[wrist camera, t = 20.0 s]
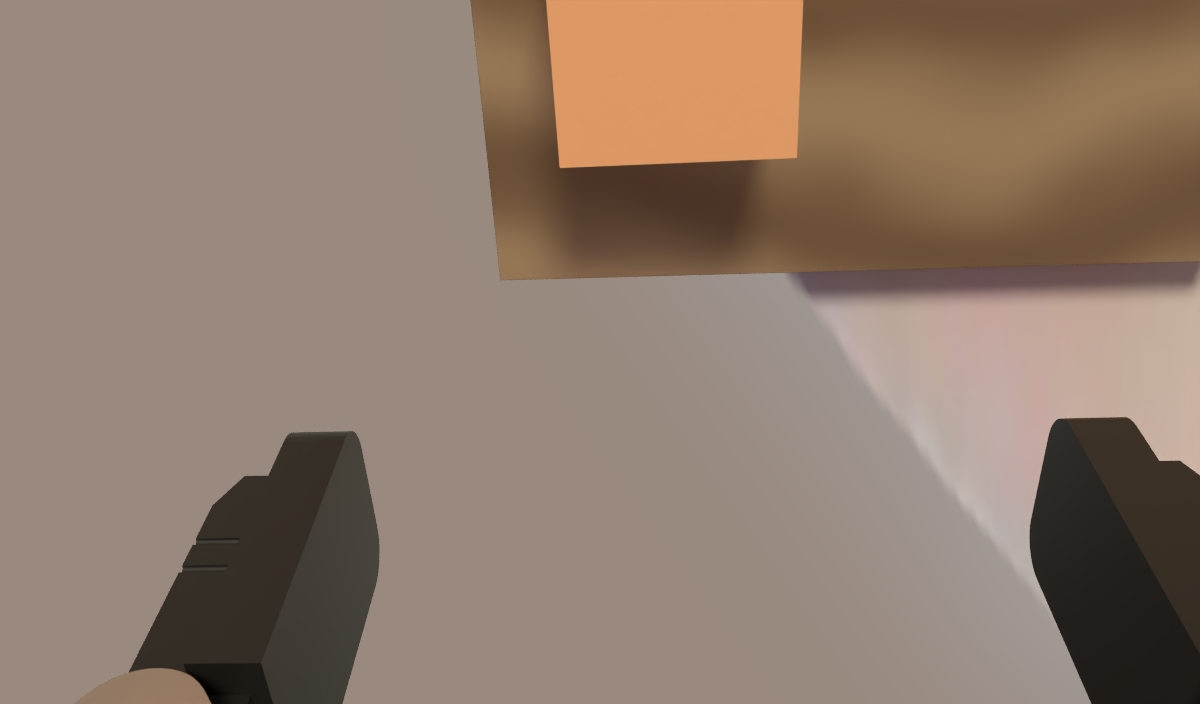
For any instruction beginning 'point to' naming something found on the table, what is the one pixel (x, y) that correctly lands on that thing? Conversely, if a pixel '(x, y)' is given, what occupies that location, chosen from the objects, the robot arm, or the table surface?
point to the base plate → (881, 148)
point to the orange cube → (675, 80)
